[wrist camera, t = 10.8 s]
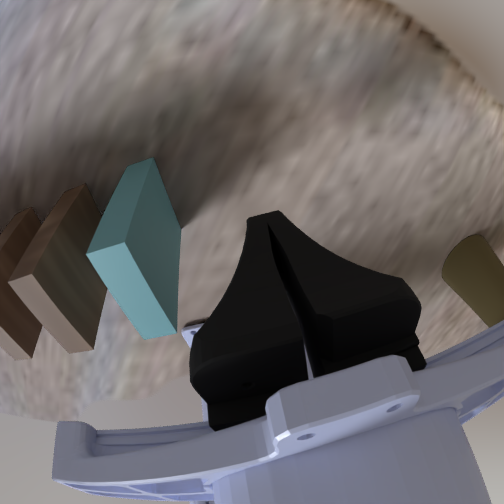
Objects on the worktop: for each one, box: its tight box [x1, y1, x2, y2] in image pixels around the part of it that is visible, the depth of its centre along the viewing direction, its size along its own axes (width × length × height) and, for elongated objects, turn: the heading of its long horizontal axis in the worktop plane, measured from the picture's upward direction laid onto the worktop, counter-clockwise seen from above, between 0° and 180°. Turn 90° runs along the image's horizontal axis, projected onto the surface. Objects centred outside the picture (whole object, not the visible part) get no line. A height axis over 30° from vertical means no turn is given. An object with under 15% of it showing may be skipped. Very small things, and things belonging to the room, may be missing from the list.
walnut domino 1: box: [0, 207, 43, 360], centre depth 15 cm, size 2×5×8 cm, turn 12°
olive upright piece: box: [442, 234, 504, 328], centre depth 21 cm, size 6×6×11 cm
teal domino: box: [86, 157, 181, 340], centre depth 15 cm, size 2×5×8 cm, turn 12°
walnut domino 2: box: [8, 183, 108, 353], centre depth 15 cm, size 2×5×8 cm, turn 12°
